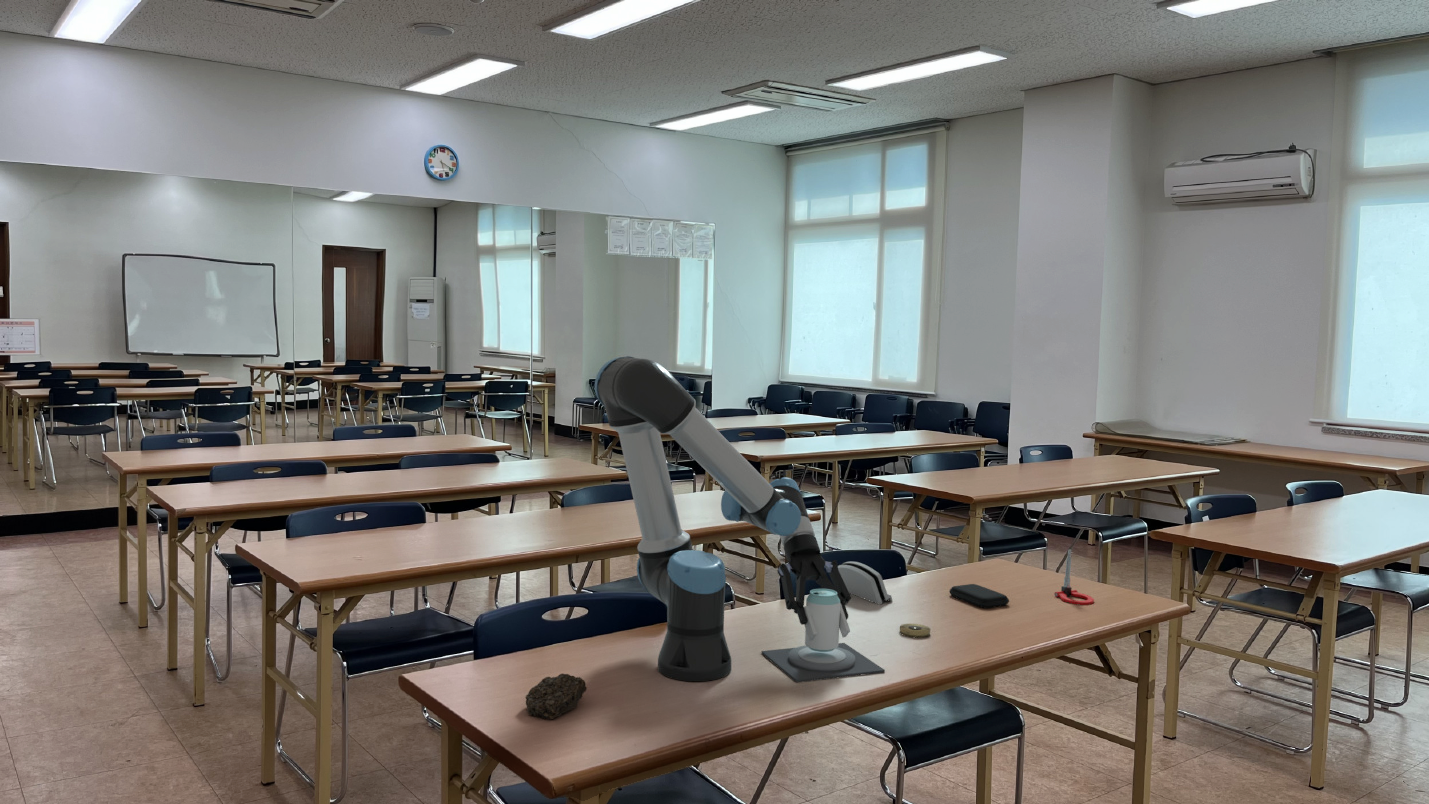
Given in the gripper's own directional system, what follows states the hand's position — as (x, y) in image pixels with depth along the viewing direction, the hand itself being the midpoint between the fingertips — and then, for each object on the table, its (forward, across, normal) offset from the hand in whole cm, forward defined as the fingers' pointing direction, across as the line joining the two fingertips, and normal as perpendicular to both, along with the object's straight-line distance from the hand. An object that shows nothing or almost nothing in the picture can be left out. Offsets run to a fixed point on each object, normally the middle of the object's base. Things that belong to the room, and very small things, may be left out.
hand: (829, 635), depth 205 cm
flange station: (+2, 0, -7) cm, 8 cm away
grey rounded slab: (-28, -33, -38) cm, 58 cm away
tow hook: (-15, -87, -25) cm, 92 cm away
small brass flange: (-6, -30, -16) cm, 35 cm away
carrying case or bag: (-20, -62, -30) cm, 72 cm away
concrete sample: (+8, +58, -2) cm, 59 cm away
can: (0, 0, -5) cm, 5 cm away
